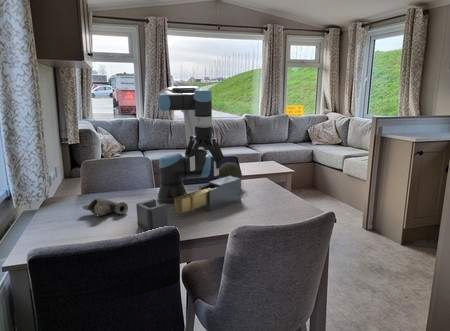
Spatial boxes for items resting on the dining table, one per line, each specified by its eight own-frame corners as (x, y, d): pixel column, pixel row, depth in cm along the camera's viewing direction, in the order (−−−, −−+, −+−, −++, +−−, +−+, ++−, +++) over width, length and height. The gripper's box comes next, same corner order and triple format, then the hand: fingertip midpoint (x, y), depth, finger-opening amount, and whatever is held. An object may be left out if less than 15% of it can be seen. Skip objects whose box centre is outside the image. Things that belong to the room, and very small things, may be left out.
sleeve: (199, 207, 159) (199, 184, 156) (230, 196, 173) (230, 175, 170) (210, 211, 153) (210, 187, 150) (241, 200, 167) (241, 178, 164)
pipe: (107, 226, 157) (78, 219, 146) (108, 209, 162) (80, 201, 151) (129, 215, 150) (101, 206, 139) (130, 197, 154) (102, 188, 143)
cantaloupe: (247, 187, 188) (247, 162, 184) (230, 193, 178) (230, 167, 175) (229, 182, 198) (229, 158, 194) (212, 188, 188) (212, 162, 184)
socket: (138, 227, 137) (136, 204, 134) (155, 221, 142) (153, 198, 140) (150, 234, 130) (148, 210, 128) (167, 228, 136) (166, 204, 133)
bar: (173, 210, 146) (172, 196, 145) (224, 193, 168) (224, 181, 167) (182, 214, 142) (181, 200, 140) (233, 196, 164) (233, 184, 162)
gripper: (176, 124, 145) (178, 170, 150) (222, 129, 131) (222, 179, 137) (187, 122, 151) (188, 166, 156) (232, 127, 137) (231, 175, 143)
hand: (204, 172), depth 147 cm, fingers open, 13 cm apart
